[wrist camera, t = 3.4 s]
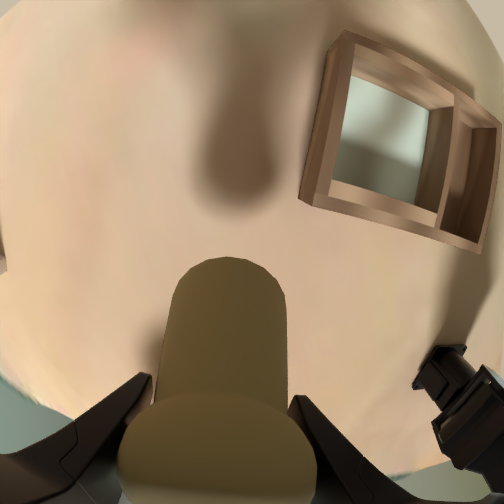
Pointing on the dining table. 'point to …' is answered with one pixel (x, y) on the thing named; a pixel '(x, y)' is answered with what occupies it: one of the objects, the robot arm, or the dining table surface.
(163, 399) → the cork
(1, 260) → the lighter
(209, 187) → the dining table surface
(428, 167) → the socket box
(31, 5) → the dining table surface
